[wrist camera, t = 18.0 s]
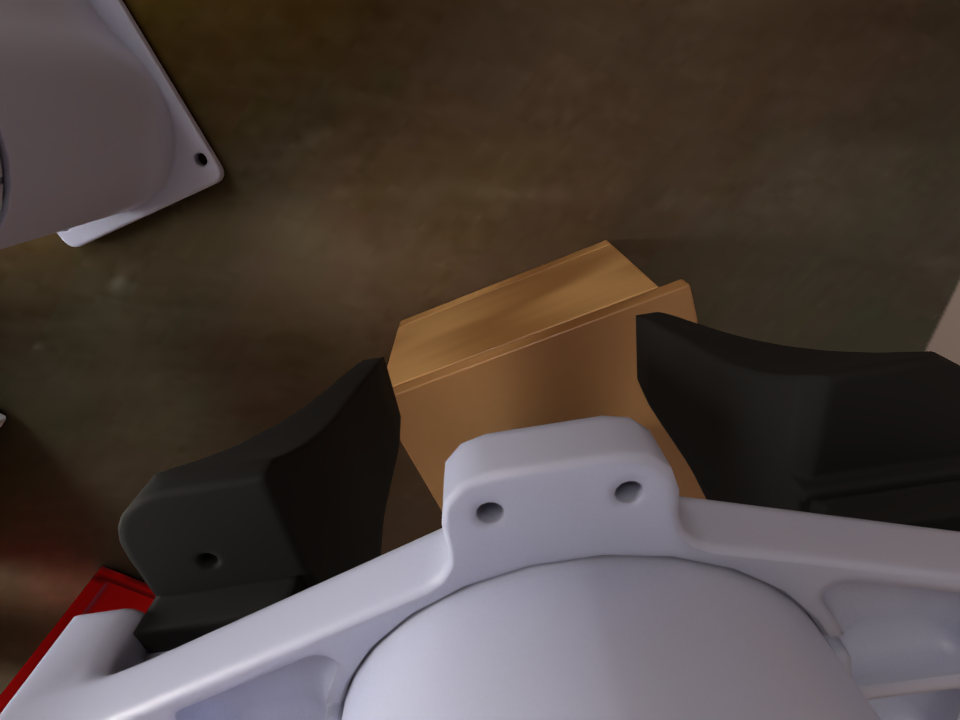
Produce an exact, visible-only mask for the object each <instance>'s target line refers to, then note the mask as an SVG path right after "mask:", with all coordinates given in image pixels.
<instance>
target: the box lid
mask: <svg viewBox="0 0 960 720" xmlns="http://www.w3.org/2000/svg"><path fill="white" fill-rule="evenodd" d="M653 312H662V313H666V314H670V315H673V316H676V317H679V318H682V319H685V320H688V321H691V322H694V323H697V324H698V320H697V316H696V311H695V306H694V302H693V297H692V292H691V288H690V285H689V284H688V283H687V282H685V281H684V280H683V279H680V280H677V281H675V282H672V283H669V284H667V285H664V286H661V287H659V288H656V289H653V290H651V291H648V292H645V293H643V294H640V295H637V296H635V297H632V298H629V299H627V300H624V301H621V302H619V303H616V304H613V305H611V306H608V307H605V308H603V309H600V310H597V311H595V312H592V313H589V314H587V315H584V316H581V317H579V318H576V319H573V320H571V321H568V322H565V323H563V324H560V325H557V326H555V327H552V328H549V329H547V330H544V331H541V332H539V333H536V334H533V335H531V336H528V337H525V338H523V339H520V340H517V341H515V342H512V343H509V344H507V345H504V346H501V347H499V348H496V349H493V350H491V351H488V352H485V353H483V354H480V355H477V356H475V357H472V358H469V359H467V360H464V361H461V362H459V363H456V364H453V365H451V366H448V367H445V368H443V369H440V370H437V371H435V372H432V373H429V374H427V375H424V376H421V377H419V378H416V379H414V380H411V381H408V382H406V383H403V384H400V385H398V386H395V387H393V390H394V394H395V397H396V401H397V404H398V408H399V411H400V415H401V426H400V441H401V442H402V444H403V446H404V447H405V449H406V451H407V453H408V454H409V456H410V458H411V459H412V461H413V463H414V464H415V466H416V468H417V470H418V471H419V473H420V475H421V476H422V478H423V480H424V481H425V483H426V485H427V487H428V488H429V490H430V492H431V493H432V495H433V497H434V499H435V500H436V502H437V504H438V505H439V507H440V509H441V510H442V508H443V486H444V473H445V462H446V461H447V459H448V458H449V457H450V456H451V455H452V453H453V452H454V451H455V450H456V449H457V447H458V446H459V445H460V444H461V443H464V442H466V441H469V440H471V439H474V438H476V437H479V436H481V435H484V434H488V433H494V432H501V431H507V430H512V429H520V428H526V427H533V426H539V425H545V424H552V423H558V422H565V421H571V420H577V419H584V418H590V417H597V416H617V417H630V418H631V419H633V420H634V421H636V422H638V423H639V424H641V425H642V426H644V427H645V428H647V429H648V430H650V432H651V434H652V435H653V437H654V439H655V440H656V442H657V444H658V446H659V447H660V449H661V451H662V452H663V454H664V456H665V457H666V459H667V461H668V463H669V464H670V466H671V468H672V470H673V473H674V476H675V479H676V482H677V485H678V488H679V496H683V497H691V498H699V499H706V498H705V496H704V494H703V492H702V490H701V488H700V486H699V484H698V482H697V480H696V478H695V476H694V474H693V472H692V470H691V469H690V467H689V465H688V464H687V462H686V460H685V459H684V457H683V456H682V454H681V453H680V451H679V450H678V448H677V447H676V445H675V444H674V442H673V441H672V439H671V438H670V436H669V435H668V433H667V432H666V430H665V429H664V427H663V426H662V424H661V423H660V421H659V420H658V418H657V417H656V415H655V414H654V412H653V411H652V409H651V407H650V406H649V404H648V402H647V400H646V398H645V396H644V393H643V391H642V389H641V387H640V384H639V382H638V380H637V352H636V315H641V314H647V313H653Z"/></svg>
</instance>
